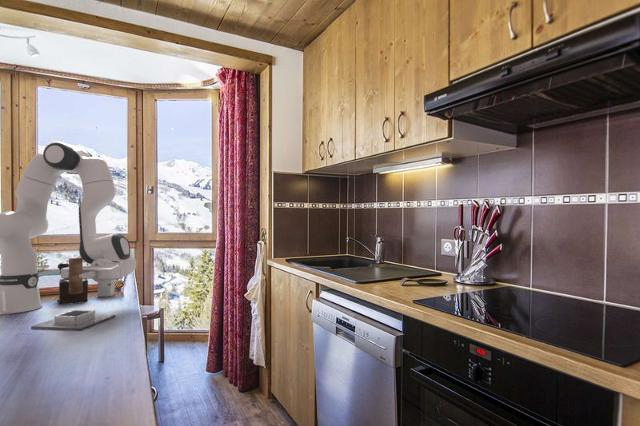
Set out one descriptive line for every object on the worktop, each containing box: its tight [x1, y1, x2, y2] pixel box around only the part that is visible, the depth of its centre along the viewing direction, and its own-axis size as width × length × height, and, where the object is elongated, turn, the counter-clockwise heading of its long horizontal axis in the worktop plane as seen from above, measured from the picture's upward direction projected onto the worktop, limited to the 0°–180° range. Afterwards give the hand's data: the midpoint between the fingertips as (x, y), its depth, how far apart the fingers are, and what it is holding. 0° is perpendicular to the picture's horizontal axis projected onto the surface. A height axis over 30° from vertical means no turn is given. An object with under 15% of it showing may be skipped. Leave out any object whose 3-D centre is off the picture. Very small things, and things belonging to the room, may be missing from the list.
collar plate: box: [30, 309, 116, 332], centre depth 126 cm, size 18×16×3 cm
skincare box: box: [96, 280, 116, 297], centre depth 171 cm, size 6×4×12 cm
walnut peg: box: [68, 257, 84, 294], centre depth 126 cm, size 4×4×12 cm
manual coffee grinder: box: [56, 262, 89, 305], centre depth 157 cm, size 16×11×18 cm
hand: (73, 276), depth 126 cm, fingers closed on walnut peg, 4 cm apart
